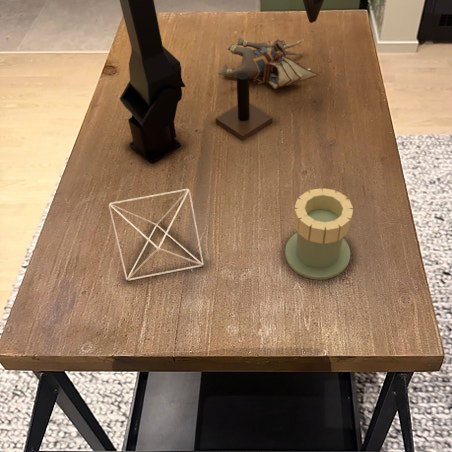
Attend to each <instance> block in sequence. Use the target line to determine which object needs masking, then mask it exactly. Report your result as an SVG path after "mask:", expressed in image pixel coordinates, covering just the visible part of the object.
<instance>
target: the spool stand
mask: <svg viewBox="0 0 452 452" xmlns="http://www.w3.org/2000/svg"><path fill="white" fill-rule="evenodd" d="M307 215H308V216H310V217H311V218H312V219H314V220H315V221H320V222H330V221H335V220H336V219H337V218H338V216H337V215H336V214H334V213H333V212H331V211H329V210H324V209H318V210H313V211H311V212H310V213H308V214H307ZM284 255H285V261H286V263H287V265H288V266H289V267H290V268H291V270H293V272H295V273H297V275H300V276H302V277H304V278H307V279H309V280H317V281H318V280H319V281H321V280H329V279H332V278H335V277H337V276H338V275H340V274H342V273H343V272H344V271H345V270H346V269H347V267H348V265H349V263H350V259H351V248H350V246H349V244H348V242H347V241H346V239H345V238H344V237H343V238H341V239H340V240H338V239H337V241H336V242H331V243H326V244H325V243H324V241H323V243H322V244H321V243H317V242H312V241H310V239H308V240H307V239H305V238H304V237H302V236H301V235H300V234H298V232H297V231H296V232H295V233H294V234H293V235H292V236H291V237H290V238H289V239H288V241H287V242H286V245H285V251H284Z"/></svg>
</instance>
